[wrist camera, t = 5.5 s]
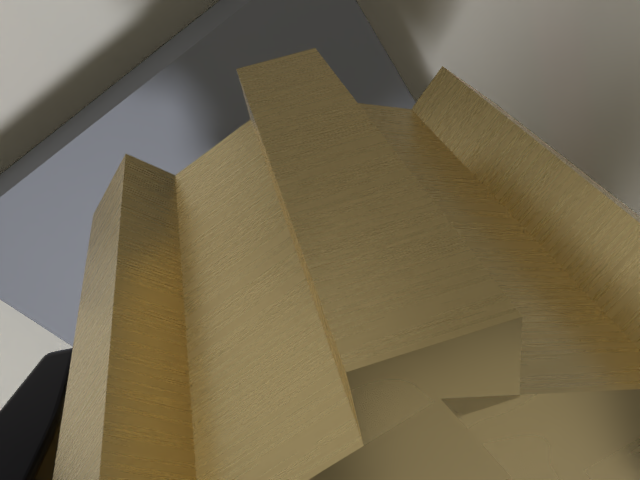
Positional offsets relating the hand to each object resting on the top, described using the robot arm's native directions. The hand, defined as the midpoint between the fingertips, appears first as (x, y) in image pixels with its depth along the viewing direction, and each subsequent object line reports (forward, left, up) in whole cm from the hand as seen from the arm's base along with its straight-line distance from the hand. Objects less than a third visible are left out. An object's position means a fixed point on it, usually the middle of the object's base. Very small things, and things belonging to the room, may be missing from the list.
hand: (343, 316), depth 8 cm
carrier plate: (-6, +2, -7) cm, 9 cm away
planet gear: (0, 0, -1) cm, 1 cm away
